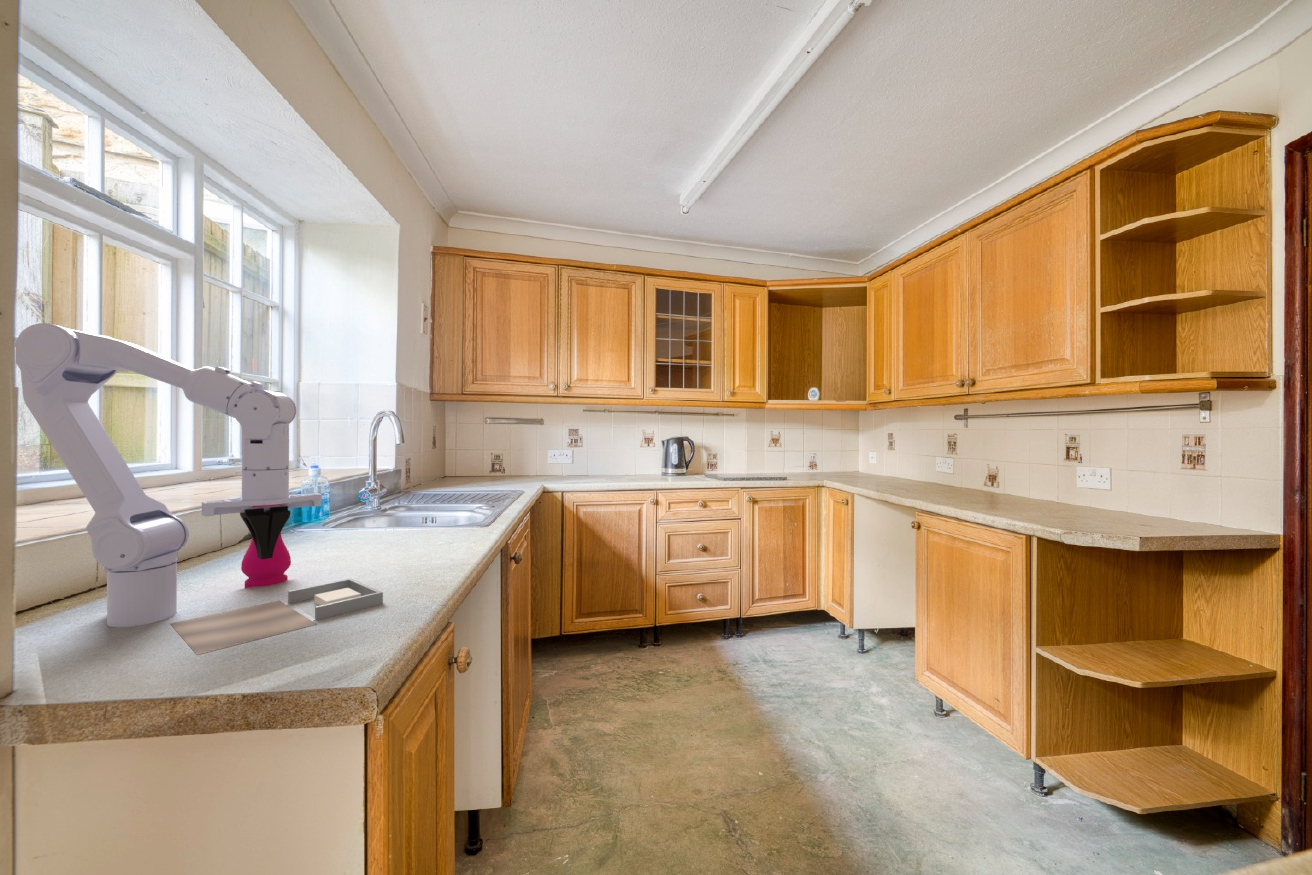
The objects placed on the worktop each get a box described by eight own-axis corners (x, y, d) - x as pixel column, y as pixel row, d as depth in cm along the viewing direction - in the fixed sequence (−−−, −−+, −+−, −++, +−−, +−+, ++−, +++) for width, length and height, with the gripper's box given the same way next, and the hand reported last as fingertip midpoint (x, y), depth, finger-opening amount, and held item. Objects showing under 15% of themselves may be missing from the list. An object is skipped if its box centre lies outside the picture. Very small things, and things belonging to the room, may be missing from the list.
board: (170, 631, 72) (170, 623, 72) (279, 607, 83) (279, 600, 83) (196, 664, 63) (197, 654, 63) (317, 632, 73) (317, 624, 73)
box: (283, 610, 81) (283, 591, 81) (351, 595, 89) (351, 578, 89) (311, 629, 74) (312, 608, 74) (382, 610, 82) (382, 592, 82)
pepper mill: (250, 596, 88) (251, 481, 88) (234, 589, 92) (235, 478, 92) (297, 586, 94) (298, 478, 94) (280, 579, 98) (281, 476, 98)
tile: (314, 607, 82) (314, 594, 82) (347, 599, 86) (348, 587, 86) (326, 614, 79) (326, 601, 79) (360, 605, 83) (360, 593, 83)
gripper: (210, 473, 69) (210, 572, 70) (329, 468, 81) (328, 553, 81) (198, 470, 74) (197, 563, 74) (312, 465, 85) (311, 546, 85)
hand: (265, 557), depth 78 cm, fingers closed
